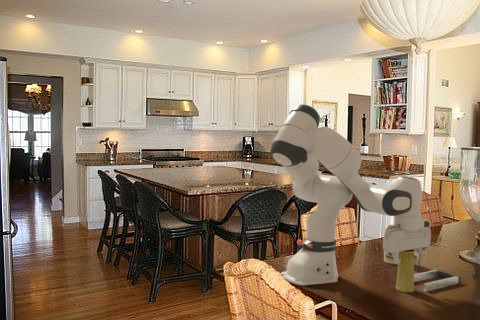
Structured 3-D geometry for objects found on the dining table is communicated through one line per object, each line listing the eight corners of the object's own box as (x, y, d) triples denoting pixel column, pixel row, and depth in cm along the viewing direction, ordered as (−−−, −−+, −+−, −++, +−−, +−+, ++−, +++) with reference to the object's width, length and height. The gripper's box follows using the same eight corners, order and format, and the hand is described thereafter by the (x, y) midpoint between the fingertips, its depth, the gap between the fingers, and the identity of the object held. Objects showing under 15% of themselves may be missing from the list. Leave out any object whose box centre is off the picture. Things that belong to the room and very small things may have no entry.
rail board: (425, 291, 150) (426, 284, 149) (403, 283, 158) (403, 276, 158) (460, 283, 159) (460, 276, 159) (437, 275, 167) (438, 269, 167)
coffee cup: (380, 262, 184) (381, 235, 183) (384, 257, 192) (385, 231, 191) (403, 266, 179) (404, 237, 179) (406, 260, 188) (407, 233, 187)
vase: (399, 285, 156) (400, 246, 155) (416, 289, 152) (418, 249, 151) (393, 289, 151) (394, 249, 150) (410, 294, 147) (412, 253, 146)
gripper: (393, 227, 142) (392, 268, 143) (434, 221, 152) (433, 260, 152) (378, 224, 148) (378, 263, 148) (419, 218, 157) (418, 255, 158)
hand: (406, 261), depth 150 cm, fingers open, 8 cm apart
